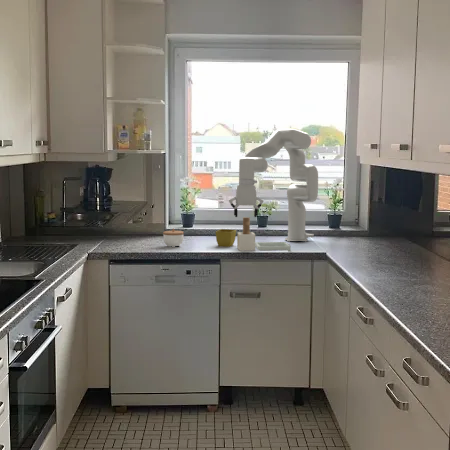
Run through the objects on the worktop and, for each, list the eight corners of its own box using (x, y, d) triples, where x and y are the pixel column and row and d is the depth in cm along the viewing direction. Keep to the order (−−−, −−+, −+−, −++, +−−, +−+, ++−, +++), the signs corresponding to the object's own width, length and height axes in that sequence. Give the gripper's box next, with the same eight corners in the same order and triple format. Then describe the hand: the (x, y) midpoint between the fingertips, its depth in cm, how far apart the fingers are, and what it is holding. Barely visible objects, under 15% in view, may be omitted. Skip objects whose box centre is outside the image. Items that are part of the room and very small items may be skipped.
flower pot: (231, 249, 327) (231, 231, 326) (215, 248, 330) (215, 231, 329) (236, 246, 335) (236, 229, 334) (220, 245, 338) (220, 229, 337)
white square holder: (252, 249, 326) (252, 232, 325) (255, 252, 318) (255, 234, 317) (237, 249, 325) (237, 232, 324) (239, 252, 317) (239, 234, 316)
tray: (285, 247, 334) (285, 241, 334) (290, 251, 321) (290, 246, 320) (254, 247, 333) (254, 242, 332) (259, 252, 319) (259, 246, 319)
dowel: (249, 248, 324) (249, 217, 322) (250, 249, 320) (250, 217, 318) (242, 248, 323) (242, 217, 321) (243, 249, 320) (243, 217, 318)
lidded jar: (185, 245, 341) (185, 227, 339) (181, 248, 330) (181, 230, 329) (165, 244, 342) (165, 227, 341) (161, 247, 331) (161, 229, 330)
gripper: (262, 182, 322) (261, 216, 324) (228, 182, 320) (227, 216, 322) (264, 183, 315) (264, 217, 317) (230, 182, 313) (229, 217, 315)
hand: (245, 216), depth 319 cm, fingers open, 9 cm apart
